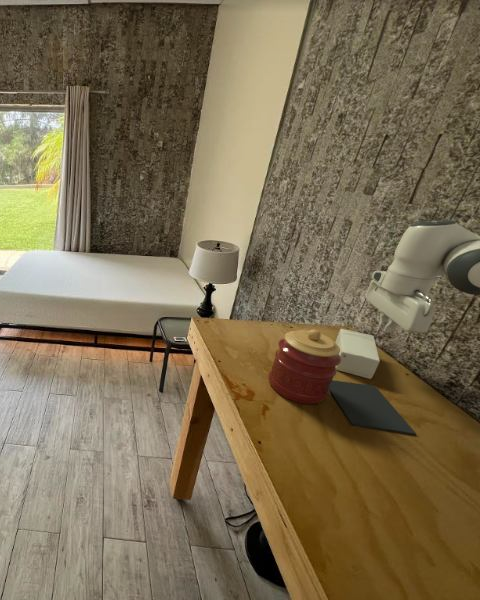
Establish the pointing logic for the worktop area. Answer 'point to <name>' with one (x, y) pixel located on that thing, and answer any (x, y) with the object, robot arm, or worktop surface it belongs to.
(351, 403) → the felt mat
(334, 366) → the kitchen canister
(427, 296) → the robot arm
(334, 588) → the worktop surface
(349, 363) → the cosmetic box
